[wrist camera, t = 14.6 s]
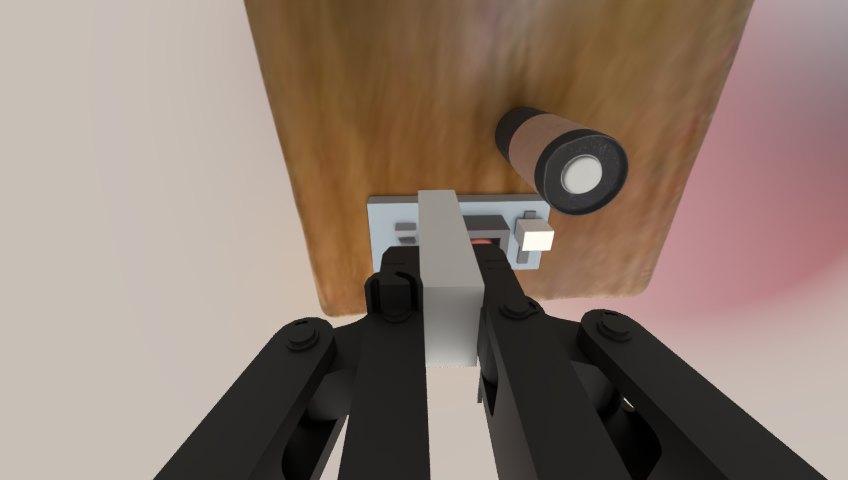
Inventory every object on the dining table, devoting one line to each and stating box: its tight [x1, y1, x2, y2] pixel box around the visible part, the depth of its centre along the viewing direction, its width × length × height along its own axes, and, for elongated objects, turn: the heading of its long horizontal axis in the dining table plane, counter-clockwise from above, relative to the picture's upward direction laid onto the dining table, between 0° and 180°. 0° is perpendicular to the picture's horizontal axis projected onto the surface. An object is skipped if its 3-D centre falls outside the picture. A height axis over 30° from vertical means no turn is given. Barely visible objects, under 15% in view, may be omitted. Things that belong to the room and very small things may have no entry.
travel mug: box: [495, 107, 629, 216], centre depth 37 cm, size 8×8×20 cm
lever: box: [398, 237, 419, 246], centre depth 45 cm, size 3×3×8 cm
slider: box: [515, 219, 554, 251], centre depth 47 cm, size 3×4×4 cm
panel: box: [367, 194, 550, 272], centre depth 49 cm, size 12×27×8 cm, turn 90°
